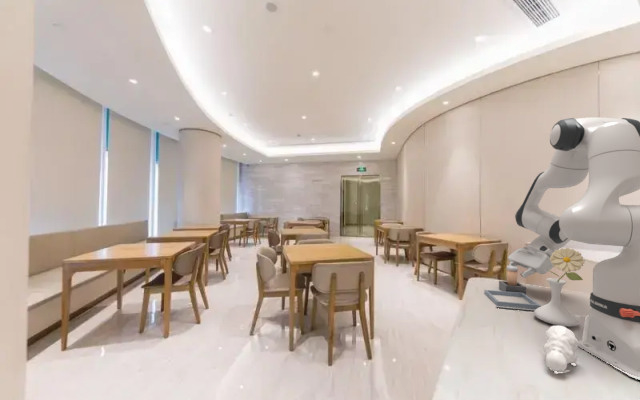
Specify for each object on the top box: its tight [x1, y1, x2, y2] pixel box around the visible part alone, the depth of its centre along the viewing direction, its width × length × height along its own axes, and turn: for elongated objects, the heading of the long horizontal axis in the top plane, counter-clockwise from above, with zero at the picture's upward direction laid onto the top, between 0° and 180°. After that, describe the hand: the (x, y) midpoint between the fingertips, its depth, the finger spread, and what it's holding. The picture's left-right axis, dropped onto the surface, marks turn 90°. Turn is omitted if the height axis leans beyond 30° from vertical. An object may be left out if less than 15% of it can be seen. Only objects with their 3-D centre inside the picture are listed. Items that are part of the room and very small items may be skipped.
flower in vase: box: [533, 247, 586, 328], centre depth 91 cm, size 13×11×25 cm
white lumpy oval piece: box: [542, 325, 579, 373], centre depth 67 cm, size 6×8×12 cm
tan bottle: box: [506, 264, 519, 286], centre depth 118 cm, size 4×4×11 cm
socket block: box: [498, 280, 527, 295], centre depth 118 cm, size 7×7×4 cm
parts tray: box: [484, 289, 542, 313], centre depth 108 cm, size 14×14×2 cm
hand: (515, 273), depth 118 cm, fingers open, 8 cm apart
